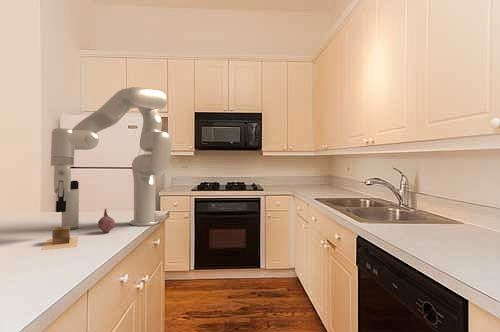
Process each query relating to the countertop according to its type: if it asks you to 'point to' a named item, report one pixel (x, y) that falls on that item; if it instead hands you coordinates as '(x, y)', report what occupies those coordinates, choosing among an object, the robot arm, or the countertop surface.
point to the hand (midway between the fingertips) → (60, 211)
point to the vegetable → (106, 223)
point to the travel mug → (72, 207)
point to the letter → (49, 244)
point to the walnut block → (60, 235)
